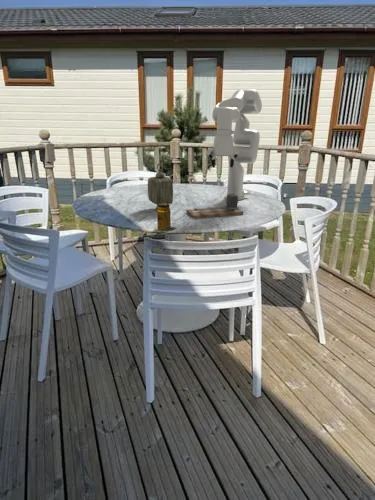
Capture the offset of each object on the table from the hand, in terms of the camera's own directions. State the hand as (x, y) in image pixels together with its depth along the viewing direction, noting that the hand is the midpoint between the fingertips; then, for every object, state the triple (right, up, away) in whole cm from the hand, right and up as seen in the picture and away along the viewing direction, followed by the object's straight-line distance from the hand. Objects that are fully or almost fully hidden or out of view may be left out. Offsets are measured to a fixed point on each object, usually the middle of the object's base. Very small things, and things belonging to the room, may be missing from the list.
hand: (222, 167), depth 188 cm
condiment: (-29, -34, -22) cm, 50 cm away
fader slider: (+6, -21, +5) cm, 23 cm away
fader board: (-4, -24, +3) cm, 25 cm away
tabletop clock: (-34, -22, +10) cm, 41 cm away
